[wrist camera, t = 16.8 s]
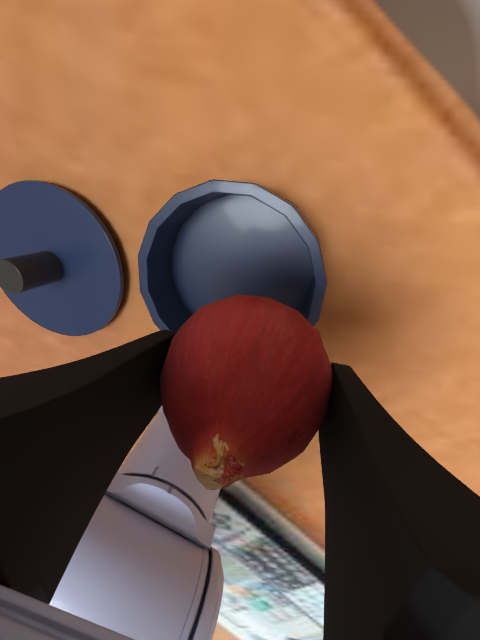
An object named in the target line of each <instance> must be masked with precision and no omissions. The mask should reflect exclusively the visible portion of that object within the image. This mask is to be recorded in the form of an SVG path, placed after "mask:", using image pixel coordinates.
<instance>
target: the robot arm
mask: <svg viewBox="0 0 480 640" xmlns="http://www.w3.org/2000/svg"><path fill="white" fill-rule="evenodd" d="M176 333H177V332H175V331H170V330H161V331H158V332H155V333H152V334H150V335H147V336H144V337H142V338H139V339H137V340H134V341H132V342H129V343H127V344H124V345H121V346H119V347H116V348H113V349H110V350H108V351H105V352H102V353H99V354H96V355H93V356H91V357H87V358H84V359H81V360H78V361H74V362H71V363H67V364H63V365H59V366H56V367H51V368H47V369H42V370H38V371H33V372H28V373H23V374H18V375H13V376H8V377H2V378H0V640H212V637H213V634H214V630H215V626H216V623H217V619H218V614H219V610H220V605H221V599H222V593H223V583H224V575H223V569H222V564H221V557H220V554H219V552H218V551H217V550H216V549H214V548H212V547H211V544H212V540H213V536H214V533H215V529H216V528H215V526H213V525H212V524H210V522H211V518H212V515H213V512H214V508H215V505H216V502H217V498H218V495H219V492H220V489H218V490H207V489H206V488H205V487H204V486H203V485H202V484H201V483H200V482H199V481H198V479H197V478H196V476H195V474H194V472H193V470H192V466H191V461H190V460H189V459H188V458H187V457H186V456H185V455H184V454H183V453H182V452H181V451H180V449H179V448H178V446H177V444H176V442H175V440H174V437H173V435H172V433H171V431H170V429H169V425H168V422H167V420H166V417H165V415H164V413H163V407H162V398H161V389H160V375H161V372H162V369H163V366H164V362H165V359H166V356H167V353H168V350H169V347H170V344H171V341H172V339H173V337H174V336H175V334H176ZM331 367H332V369H333V377H332V388H331V394H330V399H329V405H328V410H327V413H326V416H325V418H324V421H323V423H322V425H321V426H320V428H319V444H320V455H321V465H322V476H323V486H324V497H325V596H324V636H323V640H480V497H479V496H478V495H477V494H476V493H474V492H473V491H472V490H471V489H469V488H468V487H467V486H466V485H464V484H463V483H462V482H461V481H460V480H458V479H457V478H456V477H455V476H453V475H452V474H451V473H450V472H449V471H447V470H446V469H445V468H444V467H443V466H442V465H440V464H439V463H438V462H437V461H436V460H435V459H434V458H433V457H431V456H430V455H429V454H428V453H427V452H426V451H425V450H424V449H423V448H422V447H421V446H420V445H419V444H417V443H416V442H415V441H414V440H413V439H412V438H411V437H410V436H409V435H408V434H407V433H406V432H405V431H404V430H403V429H402V428H401V427H400V425H399V424H398V423H397V422H396V421H395V420H394V419H393V418H392V417H391V416H390V415H389V414H388V412H387V411H386V410H385V409H384V408H383V407H382V406H381V404H380V403H379V402H378V401H377V400H376V398H375V397H374V396H373V395H372V394H371V392H370V391H369V390H368V389H367V387H366V386H365V385H364V384H363V382H362V381H361V380H360V378H359V377H358V376H357V375H356V373H355V372H354V371H353V369H352V368H351V367H350V366H347V365H342V364H337V363H331ZM158 410H159V413H158V414H157V416H156V417H155V419H154V420H153V422H152V423H151V424H150V426H149V427H148V429H147V430H146V432H145V433H144V434H143V436H142V437H141V439H140V440H139V442H138V443H137V444H136V446H135V447H134V449H133V450H132V452H131V453H130V454H129V456H128V457H127V459H126V460H125V461H124V459H125V458H126V456H127V454H128V453H129V451H130V450H131V448H132V447H133V445H134V444H135V442H136V441H137V439H138V438H139V437H140V435H141V434H142V432H143V431H144V430H145V428H146V427H147V426H148V424H149V423H150V421H151V420H152V419H153V417H154V416H155V414H156V413H157V412H158ZM123 461H124V463H123ZM122 463H123V464H122ZM121 465H122V466H121ZM120 466H121V467H120ZM119 468H120V469H119Z"/></svg>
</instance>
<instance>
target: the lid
mask: <svg viewBox="0 0 480 640" xmlns="http://www.w3.org/2000/svg"><path fill="white" fill-rule="evenodd" d="M0 287H1V288H2V289H3V291H4V292H5V294H6V295H7V296H8V298H9V299H10V300H11V301H12V302H13V304H14V305H15V306H16V307H17V308H18V309H19V310H20V311H21V312H22V313H24V314H25V315H26V316H27V317H28V318H30V319H31V320H32V321H34V322H35V323H37V324H39V325H40V326H42V327H44V328H46V329H48V330H50V331H53V332H56V333H59V334H63V335H70V336H81V335H87V334H90V333H94V332H96V331H97V330H99V329H101V328H103V327H104V326H105V325H107V324H108V323H109V322H110V321H111V320H112V319H113V318H114V316H115V314H116V313H117V311H118V309H119V307H120V304H121V301H122V297H123V290H124V274H123V267H122V263H121V259H120V255H119V252H118V250H117V247H116V244H115V242H114V240H113V238H112V236H111V234H110V233H109V231H108V230H107V228H106V226H105V225H104V223H103V222H102V221H101V219H100V218H99V217H98V216H97V214H96V213H95V212H94V211H93V210H92V209H91V208H90V207H89V206H88V205H87V204H86V203H85V202H83V201H82V200H81V199H80V198H79V197H77V196H76V195H74V194H73V193H71V192H69V191H68V190H66V189H64V188H62V187H60V186H57V185H54V184H51V183H48V182H42V181H19V182H15V183H13V184H10V185H8V186H6V187H5V188H3V189H2V190H0Z"/></svg>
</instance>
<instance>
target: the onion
mask: <svg viewBox="0 0 480 640" xmlns="http://www.w3.org/2000/svg"><path fill="white" fill-rule="evenodd" d="M332 377H333V369H332V367H331V364H330V362H329V359H328V356H327V354H326V351H325V349H324V346H323V343H322V340H321V337H320V334H319V332H318V331H317V330H316V329H315V328H314V327H313V326H312V325H311V324H310V323H309V322H308V321H307V319H306V318H305V317H304V316H303V315H302V314H301V313H300V312H299V311H297V310H295V309H293V308H291V307H289V306H287V305H284V304H282V303H280V302H278V301H276V300H274V299H271V298H269V297H261V296H251V295H241V294H238V295H235V296H232V297H228V298H225V299H222V300H218V301H215V302H212V303H209V304H207V305H204V306H202V307H200V308H199V309H198V310H197V311H196V312H195V313H194V314H193V315H192V316H191V317H190V318H189V319H188V320H187V321H186V322H185V323H184V324H183V325H182V326H181V327H180V329H179V330H178V332H177V333H176V334H175V336H174V337H173V339H172V341H171V344H170V347H169V350H168V353H167V356H166V359H165V362H164V366H163V369H162V372H161V375H160V389H161V398H162V407H163V413H164V415H165V417H166V420H167V422H168V425H169V429H170V431H171V433H172V435H173V437H174V440H175V442H176V444H177V446H178V448H179V449H180V451H181V452H182V453H183V454H184V455H185V456H186V457H187V458H188V459H189V460H190V461H191V466H192V470H193V472H194V474H195V476H196V478H197V479H198V481H199V482H200V483H201V484H202V485H203V486H204V487H205V488H206V489H207V490H218V489H222V488H225V487H228V486H230V485H231V484H232V483H234V482H235V481H238V480H240V479H242V478H247V477H252V476H257V475H263V474H268V473H271V472H273V471H274V470H276V469H278V468H279V467H281V466H283V465H284V464H286V463H288V462H289V461H291V460H293V459H294V458H296V457H297V456H298V455H299V454H301V453H302V452H303V451H304V450H305V449H306V447H307V446H308V444H309V443H310V441H311V440H312V438H313V437H314V435H315V434H316V432H317V431H318V429H319V428H320V426H321V425H322V423H323V421H324V418H325V416H326V413H327V410H328V405H329V399H330V394H331V388H332Z"/></svg>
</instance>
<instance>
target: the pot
mask: <svg viewBox="0 0 480 640" xmlns="http://www.w3.org/2000/svg"><path fill="white" fill-rule="evenodd" d="M138 265H139V281H140V291H141V294H142V296H143V299H144V301H145V303H146V306H147V308H148V310H149V313H150V315H151V317H152V320H153V322H154V324H155V325H156V326H157V327H158V328H159V329H160V330H170V331H175V332H178V330H179V329H180V327H181V326H182V325H183V324H184V323H185V322H186V321H187V320H188V319H189V318H190V317H191V316H192V315H193V314H194V313H195V312H196V311H197V310H198V309H199V308H200V307H202V306H204V305H207V304H209V303H212V302H215V301H218V300H222V299H225V298H228V297H232V296H235V295H238V294H241V295H251V296H261V297H269V298H271V299H274V300H276V301H278V302H280V303H282V304H284V305H287V306H289V307H291V308H293V309H295V310H297V311H299V312H300V313H301V314H302V315H303V316H304V317H305V318H306V319H307V321H308V322H309V323H310V324H311V325H312V326H313V327H314V326H315V324H316V323H317V321H318V319H319V316H320V312H321V308H322V303H323V299H324V294H325V290H326V285H327V279H326V274H325V269H324V264H323V260H322V255H321V250H320V245H319V241H318V238H317V236H316V233H315V232H314V230H313V229H312V228H311V226H310V225H309V223H308V222H307V220H306V219H305V218H304V216H303V215H302V214H301V212H300V211H299V209H298V208H297V206H295V204H293V203H291V202H289V201H288V200H286V199H284V198H283V197H281V196H279V195H277V194H276V193H274V192H272V191H271V190H269V189H267V188H265V187H263V186H260V185H258V184H255V183H247V182H236V181H224V180H210V181H207V182H205V183H202V184H199V185H197V186H194V187H192V188H189V189H186V190H184V191H181V192H179V193H176V194H175V195H173V197H172V198H171V199H170V200H169V201H168V202H167V203H166V204H165V205H164V206H163V207H162V208H161V210H160V211H159V212H158V213H157V214H156V215H155V216H154V217H153V218H152V219H151V220H150V222H149V224H148V227H147V230H146V233H145V236H144V239H143V242H142V245H141V248H140V251H139V254H138Z"/></svg>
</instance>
